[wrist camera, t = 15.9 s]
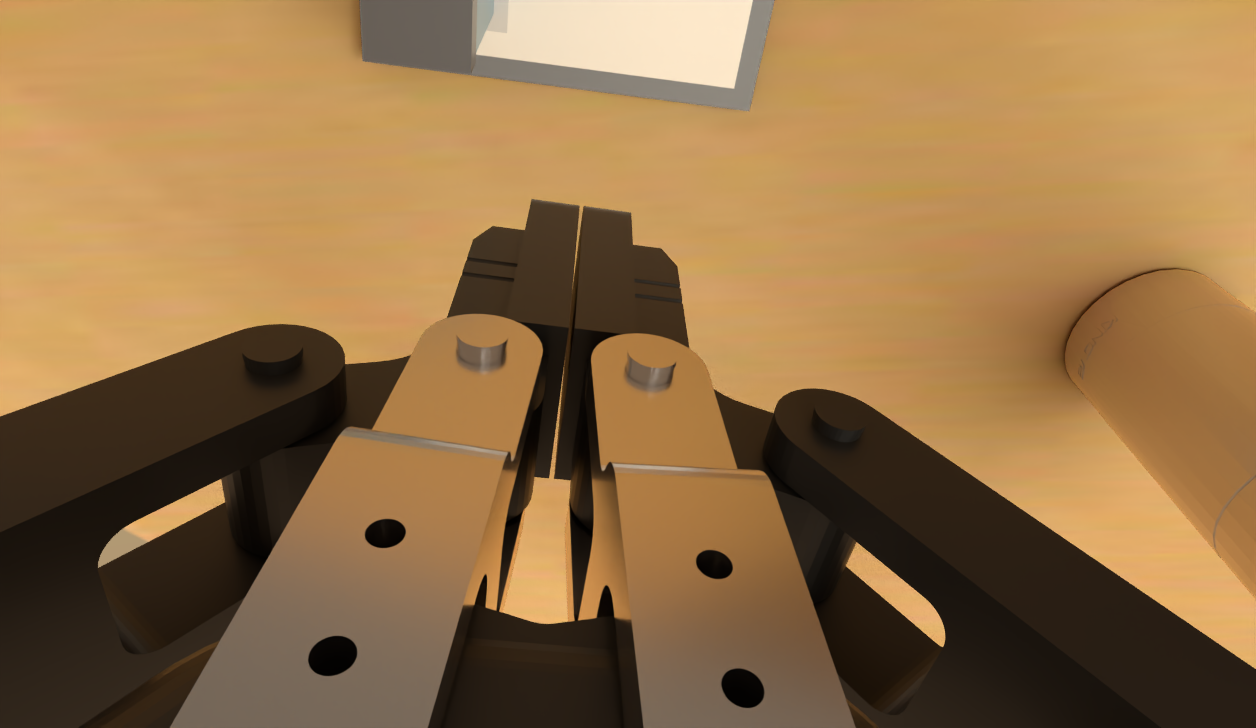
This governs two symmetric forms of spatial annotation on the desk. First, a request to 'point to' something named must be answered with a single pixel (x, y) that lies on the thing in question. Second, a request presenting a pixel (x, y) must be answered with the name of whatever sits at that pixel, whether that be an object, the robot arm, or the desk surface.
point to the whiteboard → (629, 47)
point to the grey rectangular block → (425, 32)
